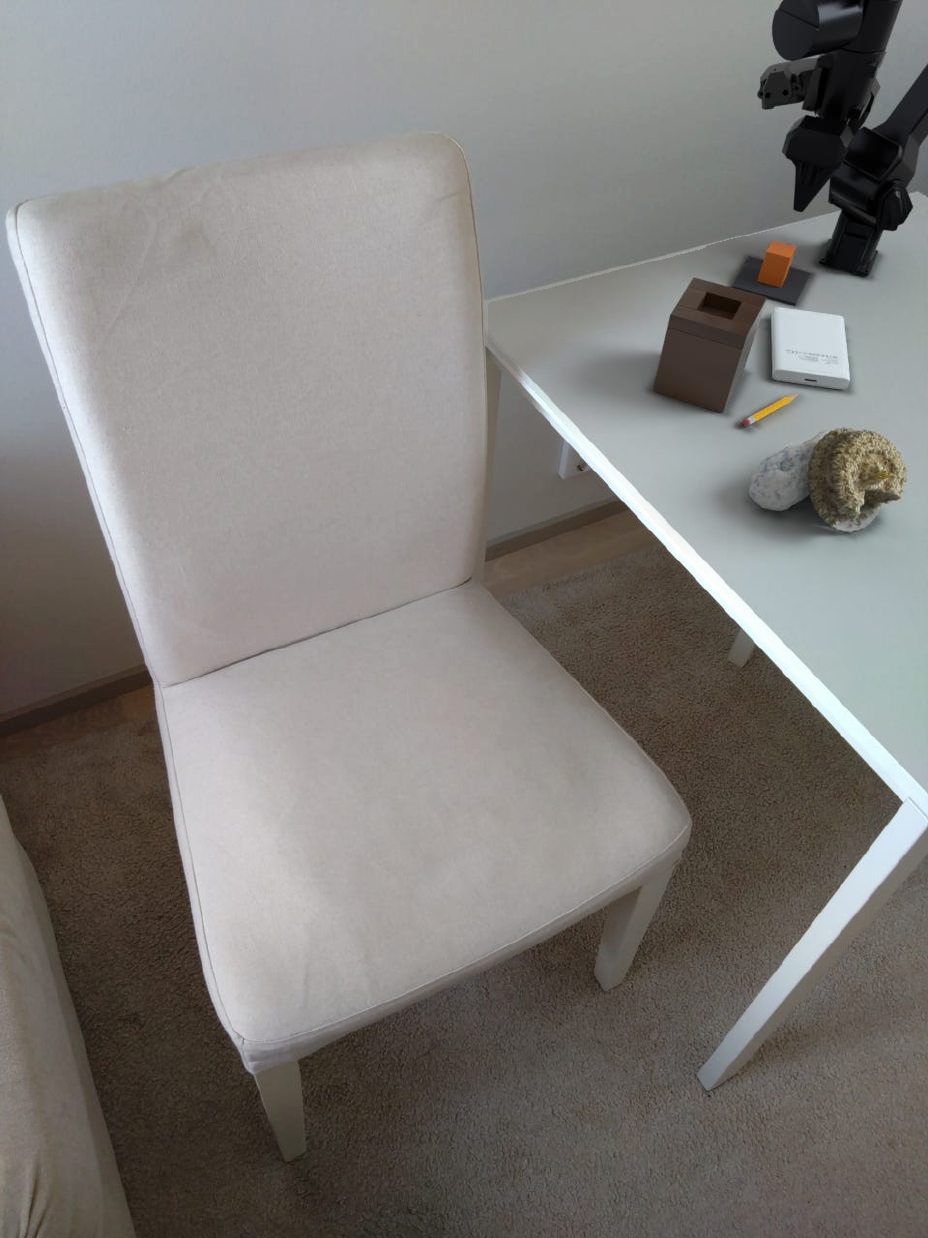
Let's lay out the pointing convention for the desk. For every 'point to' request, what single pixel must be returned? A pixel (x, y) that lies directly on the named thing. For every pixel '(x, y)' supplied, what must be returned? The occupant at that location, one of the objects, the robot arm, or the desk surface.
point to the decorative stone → (784, 476)
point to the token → (776, 263)
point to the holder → (708, 343)
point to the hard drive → (809, 348)
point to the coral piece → (854, 477)
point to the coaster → (785, 294)
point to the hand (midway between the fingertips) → (807, 193)
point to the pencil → (768, 410)
